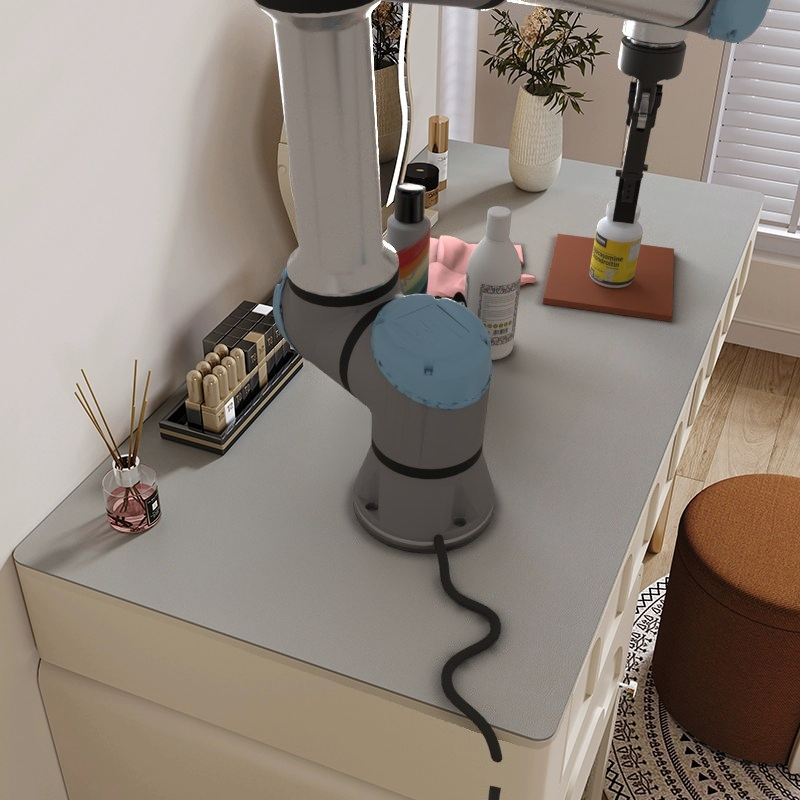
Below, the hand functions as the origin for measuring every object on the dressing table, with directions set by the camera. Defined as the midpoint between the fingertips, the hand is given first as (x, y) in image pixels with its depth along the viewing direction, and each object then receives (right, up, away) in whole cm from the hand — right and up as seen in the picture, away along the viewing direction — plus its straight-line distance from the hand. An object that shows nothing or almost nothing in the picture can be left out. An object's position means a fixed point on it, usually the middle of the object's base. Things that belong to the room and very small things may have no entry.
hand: (623, 220), depth 134 cm
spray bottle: (-28, -12, +8) cm, 32 cm away
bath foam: (-18, -17, +3) cm, 24 cm away
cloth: (-19, -4, +20) cm, 28 cm away
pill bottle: (+2, -6, +16) cm, 18 cm away
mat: (+2, -5, +18) cm, 19 cm away
